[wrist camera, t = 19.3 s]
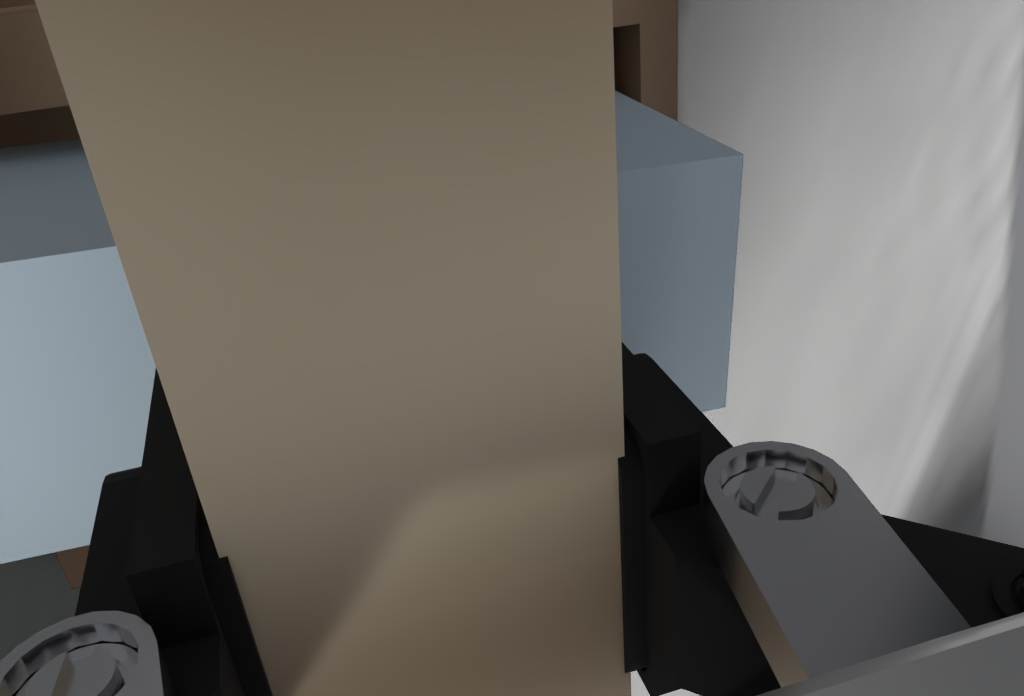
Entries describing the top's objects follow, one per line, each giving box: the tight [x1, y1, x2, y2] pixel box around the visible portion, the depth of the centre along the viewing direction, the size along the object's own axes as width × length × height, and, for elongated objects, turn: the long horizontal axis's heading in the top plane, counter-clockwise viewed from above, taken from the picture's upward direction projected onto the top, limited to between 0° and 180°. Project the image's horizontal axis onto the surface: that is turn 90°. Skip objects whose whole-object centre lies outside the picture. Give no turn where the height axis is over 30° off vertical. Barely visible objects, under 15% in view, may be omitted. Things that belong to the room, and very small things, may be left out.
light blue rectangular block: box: [0, 91, 743, 564], centre depth 16 cm, size 12×4×6 cm, turn 94°
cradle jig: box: [0, 0, 678, 589], centre depth 18 cm, size 15×16×2 cm
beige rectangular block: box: [35, 0, 631, 696], centre depth 10 cm, size 12×4×5 cm, turn 6°
